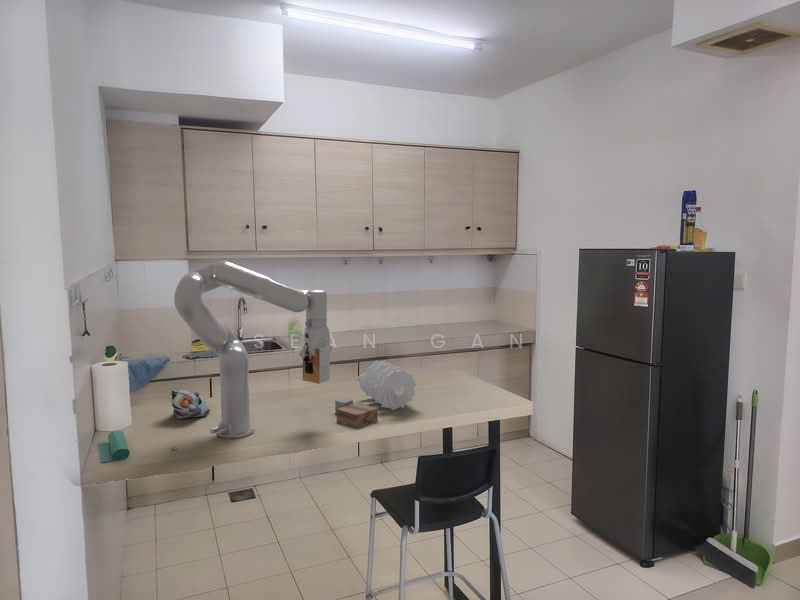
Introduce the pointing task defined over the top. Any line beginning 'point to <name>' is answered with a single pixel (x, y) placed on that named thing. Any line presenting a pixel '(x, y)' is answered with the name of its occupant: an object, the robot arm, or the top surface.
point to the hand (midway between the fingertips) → (316, 370)
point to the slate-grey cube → (342, 403)
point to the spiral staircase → (387, 385)
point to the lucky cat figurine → (188, 404)
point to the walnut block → (356, 414)
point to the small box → (319, 366)
